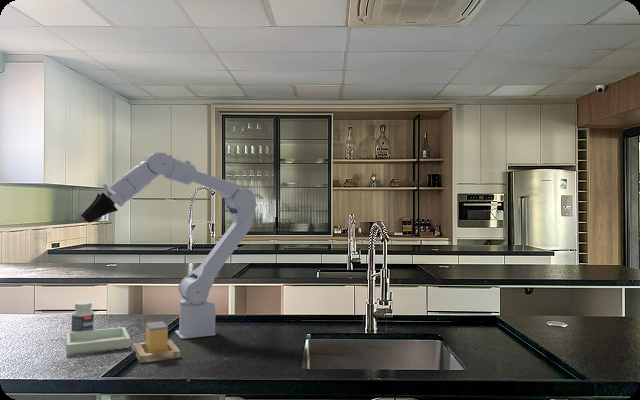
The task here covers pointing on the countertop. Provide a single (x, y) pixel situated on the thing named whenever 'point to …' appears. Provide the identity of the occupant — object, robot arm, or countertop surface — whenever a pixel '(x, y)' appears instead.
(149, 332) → the tan boxy piece
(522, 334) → the countertop surface
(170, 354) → the socket block
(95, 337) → the tray
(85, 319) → the pill bottle
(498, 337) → the countertop surface
